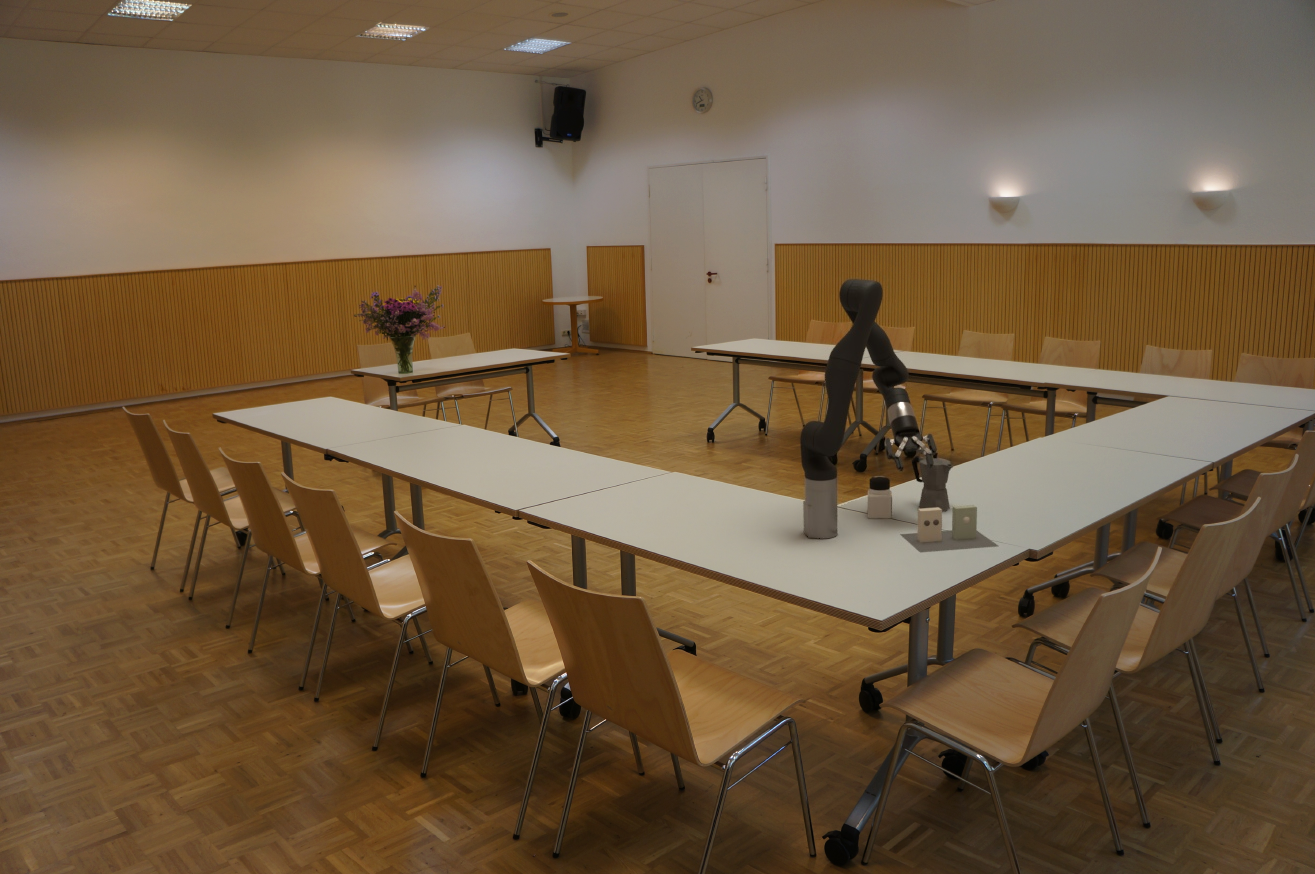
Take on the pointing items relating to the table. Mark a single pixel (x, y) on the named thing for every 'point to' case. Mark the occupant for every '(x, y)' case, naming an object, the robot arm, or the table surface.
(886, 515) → the medicine bottle
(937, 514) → the plain beige block
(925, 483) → the coffeepot
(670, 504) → the table surface
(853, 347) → the robot arm
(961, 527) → the one-dot tile
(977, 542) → the slate mat
